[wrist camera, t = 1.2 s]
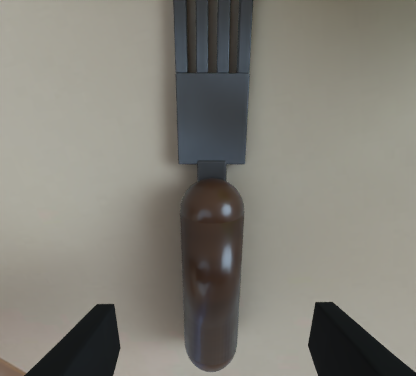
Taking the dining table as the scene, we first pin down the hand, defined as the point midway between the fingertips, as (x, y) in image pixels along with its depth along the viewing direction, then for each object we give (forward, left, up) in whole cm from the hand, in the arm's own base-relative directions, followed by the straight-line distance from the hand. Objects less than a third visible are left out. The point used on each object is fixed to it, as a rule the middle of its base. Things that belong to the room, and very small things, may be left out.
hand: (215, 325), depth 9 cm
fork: (+3, +2, -5) cm, 6 cm away
